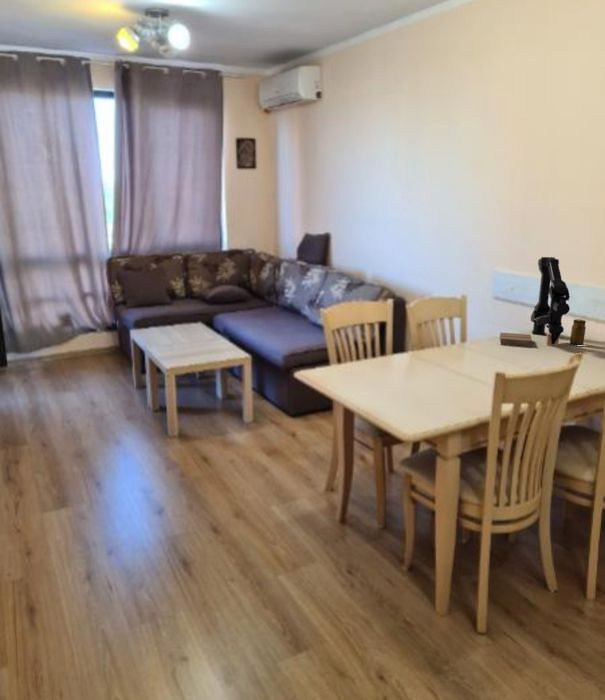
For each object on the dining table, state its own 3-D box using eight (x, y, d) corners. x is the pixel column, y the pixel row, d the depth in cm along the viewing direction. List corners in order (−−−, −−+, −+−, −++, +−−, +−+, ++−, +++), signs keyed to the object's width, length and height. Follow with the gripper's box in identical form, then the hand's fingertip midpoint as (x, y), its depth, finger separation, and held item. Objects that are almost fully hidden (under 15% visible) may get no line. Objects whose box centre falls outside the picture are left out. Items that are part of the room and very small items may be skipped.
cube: (545, 343, 294) (547, 333, 293) (556, 344, 293) (558, 334, 292) (546, 345, 290) (548, 335, 288) (558, 346, 288) (559, 336, 287)
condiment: (578, 342, 297) (581, 318, 294) (589, 346, 289) (593, 322, 286) (565, 343, 295) (568, 319, 292) (576, 347, 287) (579, 322, 284)
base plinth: (499, 338, 302) (500, 332, 301) (529, 340, 299) (529, 334, 298) (500, 344, 289) (501, 338, 288) (531, 347, 286) (532, 341, 285)
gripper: (536, 306, 298) (532, 337, 302) (539, 313, 281) (536, 345, 284) (560, 307, 295) (556, 338, 299) (565, 314, 278) (561, 347, 282)
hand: (552, 342), depth 291 cm, fingers open, 6 cm apart
